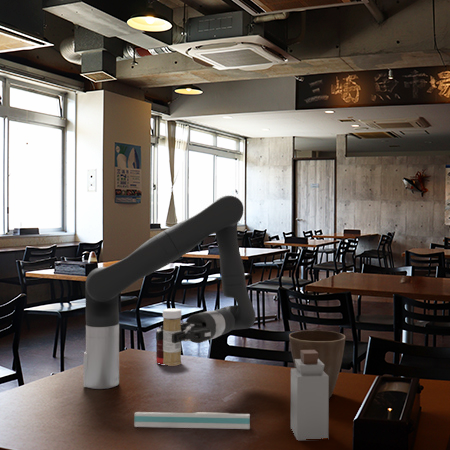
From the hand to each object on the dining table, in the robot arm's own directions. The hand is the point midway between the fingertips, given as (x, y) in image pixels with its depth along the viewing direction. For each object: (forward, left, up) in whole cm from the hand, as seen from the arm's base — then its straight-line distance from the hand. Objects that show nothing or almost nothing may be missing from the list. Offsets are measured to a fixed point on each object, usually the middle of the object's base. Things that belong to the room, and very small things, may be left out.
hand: (165, 337), depth 130 cm
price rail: (+7, -4, -18) cm, 20 cm away
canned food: (-7, +47, -19) cm, 51 cm away
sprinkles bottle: (+1, +2, -7) cm, 8 cm away
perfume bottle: (+33, -11, -19) cm, 40 cm away
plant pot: (+38, +16, -19) cm, 46 cm away
